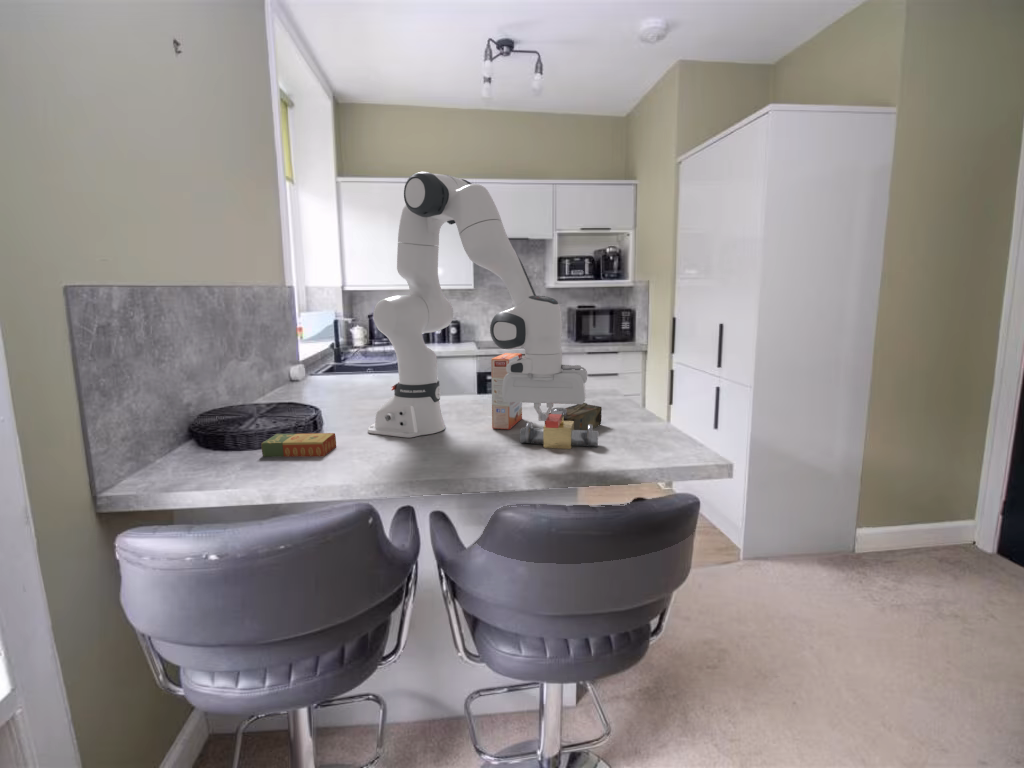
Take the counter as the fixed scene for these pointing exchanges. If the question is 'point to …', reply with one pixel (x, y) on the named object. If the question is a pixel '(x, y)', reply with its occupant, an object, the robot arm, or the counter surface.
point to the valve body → (559, 435)
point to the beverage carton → (583, 415)
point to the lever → (555, 417)
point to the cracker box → (502, 411)
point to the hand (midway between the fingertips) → (543, 420)
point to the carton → (299, 445)
